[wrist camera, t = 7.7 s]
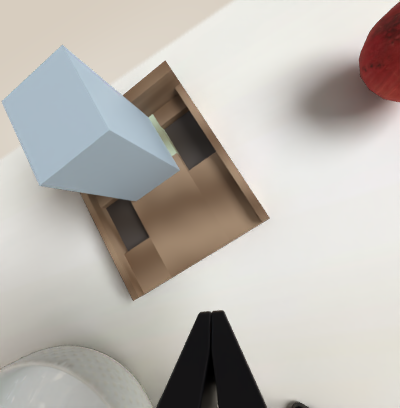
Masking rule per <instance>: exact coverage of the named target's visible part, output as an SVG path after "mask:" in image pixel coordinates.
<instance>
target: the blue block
mask: <svg viewBox="0 0 400 408" xmlns="http://www.w3.org/2000/svg"><path fill="white" fill-rule="evenodd" d="M2 104H3V106H4V108H5V110H6V112H7V115H8V117H9V119H10V121H11V124H12V125H13V128H14V130H15V132H16V134H17V137H18V139H19V141H20V143H21V146H22V148H23V150H24V152H25V155H26V157H27V159H28V161H29V163H30V166H31V168H32V170H33V172H34V175H35V177H36V179H37V181H38V183H39V186H44V187H50V188H56V189H63V190H69V191H75V192H81V193H87V194H94V195H100V196H106V197H112V198H118V199H125V200H131V201H137V200H139V199H140V198H142V197H143V196H144V195H146V194H147V193H149V192H150V191H152V190H153V189H154V188H156V187H157V186H159V185H160V184H161V183H163V182H164V181H166V180H167V179H168V178H170V177H171V176H173V175H174V174H176V173H177V172H178V171H180V169H179V167H178V166H177V164H176V162H175V161H174V159H173V157H172V156H171V154H170V152H169V151H168V149H167V147H166V146H165V144H164V142H163V141H162V139H161V137H160V136H159V134H158V132H157V131H156V129H155V127H154V126H153V124H152V122H151V121H150V119H149V117H147V116H146V115H145V114H144V113H143V112H141V111H140V110H139V109H138V108H137V107H135V106H134V105H133V104H132V103H131V102H130V101H128V100H127V99H126V98H125V97H124V96H122V95H121V94H120V93H119V92H118V91H117V90H115V89H114V88H113V87H112V86H111V85H109V84H108V83H107V82H106V81H105V80H103V79H102V78H101V77H100V76H99V75H98V74H96V73H95V72H94V71H93V70H92V69H90V68H89V67H88V66H87V65H86V64H84V63H83V62H82V61H81V60H80V59H79V58H77V57H76V56H75V55H74V54H72V53H71V52H70V51H69V50H68V49H67V48H65V47H64V46H63V45H62V46H61V47H59V49H57V50H56V51H55V52H54V53H53V54H52V55H51V56H50V57H49V58H48V59H47V60H46V61H44V62H43V63H42V64H41V65H40V66H39V67H38V68H37V69H36V70H35V71H34V72H33V73H32V74H31V75H29V76H28V77H27V78H26V79H25V80H24V81H23V82H22V83H21V84H20V85H19V86H18V87H17V88H16V89H14V90H13V91H12V92H11V93H10V94H9V95H8V96H7V97H6V98H5V99H4V100H3V101H2Z"/></svg>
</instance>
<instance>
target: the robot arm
mask: <svg viewBox="0 0 400 408" xmlns="http://www.w3.org/2000/svg"><path fill="white" fill-rule="evenodd" d="M217 404H218V407H219V408H267V406H266V404H265V402H264V399H263V397H262V395H261V393H260V390H259V388H258V386H257V384H256V381H255V379H254V377H253V375H252V373H251V370H250V368H249V366H248V364H247V361H246V359H245V357H244V355H243V352H242V350H241V348H240V346H239V343H238V341H237V339H236V337H235V335H234V332H233V330H232V328H231V326H230V323H229V321H228V319H227V317H226V314H225V312H224V311H223V310H219V311H213V312H212V313H211V312H210V311H207V312H200V313H199V314H198V316H197V319H196V321H195V323H194V325H193V328H192V330H191V332H190V334H189V336H188V339H187V341H186V343H185V345H184V347H183V350H182V352H181V354H180V356H179V359H178V361H177V363H176V365H175V367H174V370H173V372H172V374H171V376H170V378H169V381H168V383H167V385H166V387H165V390H164V392H163V394H162V396H161V398H160V401H159V403H158V405H157V407H156V408H217ZM292 408H309V407H307V406H305V405H303V404H302V403H295V404H294V405H293V407H292Z"/></svg>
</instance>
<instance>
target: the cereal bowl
mask: <svg viewBox="0 0 400 408" xmlns="http://www.w3.org/2000/svg"><path fill="white" fill-rule="evenodd" d="M0 408H153V407H152V404H151V403H150V399H149V398H148V397H147V394H146V393H145V392H144V390H143V388H142V387H141V385H140V383H138V381H137V379H136V378H134V376H133V375H132V374H131V373H130V371H128V370H126V368H125V367H123V366H122V365H121V364H120V363H119V362H117V361H115V360H114V359H112V358H111V357H109V356H107V355H105V354H104V353H101V352H98V351H96V350H93V349H89V348H86V347H80V346H70V345H69V346H57V347H51V348H48V349H45V350H40V351H38V352H35V353H31V354H30V355H28V356H25V357H22V358H21V359H19V360H17V361H15V362H13V363H11V364H9V365H7V366H5V367H3V368H2V369H0Z"/></svg>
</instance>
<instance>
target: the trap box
mask: <svg viewBox="0 0 400 408" xmlns="http://www.w3.org/2000/svg"><path fill="white" fill-rule="evenodd" d="M123 96H124V97H125V98H126V99H127V100H128V101H130V102H131V103H132V104H133V105H134V106H135V107H137V108H138V109H139V110H140V111H141V112H143V113H144V114H145V115H146V116H147V117H149V119H150V121H151V122H152V124H153V126H154V127H155V129H156V131H157V132H158V134H159V136H160V137H161V139H162V141H163V142H164V144H165V146H166V147H167V149H168V151H169V152H170V154H171V156H172V157H173V159H174V161H175V162H176V164H177V166H178V167H179V169H180V171H178V172H177V173H176V174H174V175H173V176H171V177H170V178H168V179H167V180H166V181H164V182H163V183H161V184H160V185H159V186H157V187H156V188H154V189H153V190H152V191H150V192H149V193H147V194H146V195H144V196H143V197H142V198H140V199H139V200H137V201H131V200H125V199H118V198H112V197H106V196H100V195H94V194H87V193H81V192H80V194H81V196H82V198H83V200H84V202H85V204H86V206H87V208H88V210H89V212H90V214H91V216H92V218H93V220H94V222H95V224H96V226H97V228H98V230H99V232H100V235H101V237H102V239H103V241H104V243H105V245H106V247H107V249H108V251H109V253H110V255H111V257H112V259H113V261H114V263H115V265H116V267H117V269H118V271H119V273H120V275H121V277H122V279H123V281H124V283H125V285H126V287H127V289H128V291H129V293H130V295H131V298H132V300H133V301H134V300H136V299H137V298H139V297H141V296H143V295H145V294H146V293H148V292H149V291H151V290H153V289H154V288H156V287H158V286H159V285H161V284H163V283H164V282H166V281H168V280H169V279H171V278H172V277H174V276H176V275H177V274H179V273H181V272H182V271H184V270H186V269H187V268H189V267H191V266H192V265H194V264H195V263H197V262H199V261H200V260H202V259H204V258H205V257H207V256H209V255H210V254H212V253H214V252H215V251H217V250H219V249H220V248H222V247H223V246H225V245H227V244H228V243H230V242H232V241H233V240H235V239H237V238H238V237H240V236H242V235H243V234H245V233H246V232H248V231H250V230H251V229H253V228H255V227H256V226H258V225H260V224H261V223H263V222H265V221H266V220H268V219H269V216H268V215H267V213H266V212H265V210H264V209H263V207H262V206H261V204H260V203H259V201H258V200H257V198H256V197H255V195H254V194H253V192H252V191H251V189H250V188H249V186H248V185H247V183H246V182H245V180H244V179H243V177H242V175H241V174H240V172H239V171H238V169H237V168H236V166H235V165H234V163H233V162H232V160H231V159H230V157H229V156H228V154H227V153H226V151H225V150H224V148H223V147H222V145H221V144H220V142H219V141H218V139H217V138H216V136H215V135H214V133H213V132H212V130H211V129H210V127H209V126H208V124H207V122H206V121H205V119H204V118H203V116H202V115H201V113H200V112H199V110H198V109H197V107H196V106H195V104H194V103H193V101H192V100H191V98H190V97H189V95H188V94H187V92H186V91H185V89H184V88H183V86H182V85H181V83H180V82H179V80H178V79H177V77H176V76H175V74H174V73H173V71H172V70H171V68H170V67H169V65H168V64H167V62H166V61H164V62H163V63H162V64H160V65H159V66H158V67H157V68H156V69H154V70H153V71H152V72H151V73H149V74H148V75H147V76H146V77H145V78H143V79H142V80H141V81H140V82H139V83H137V84H136V85H135V86H134V87H132V88H131V89H130V90H129V91H128V92H126V93H125V94H124V95H123Z"/></svg>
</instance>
